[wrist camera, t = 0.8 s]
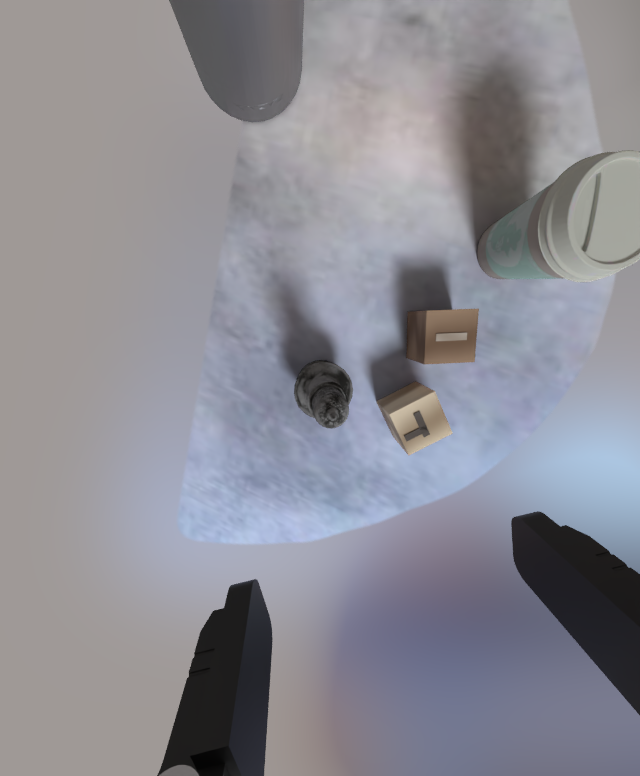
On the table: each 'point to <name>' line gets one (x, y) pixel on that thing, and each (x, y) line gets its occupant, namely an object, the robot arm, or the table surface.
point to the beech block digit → (414, 417)
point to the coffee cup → (571, 225)
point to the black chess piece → (324, 393)
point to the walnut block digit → (442, 336)
